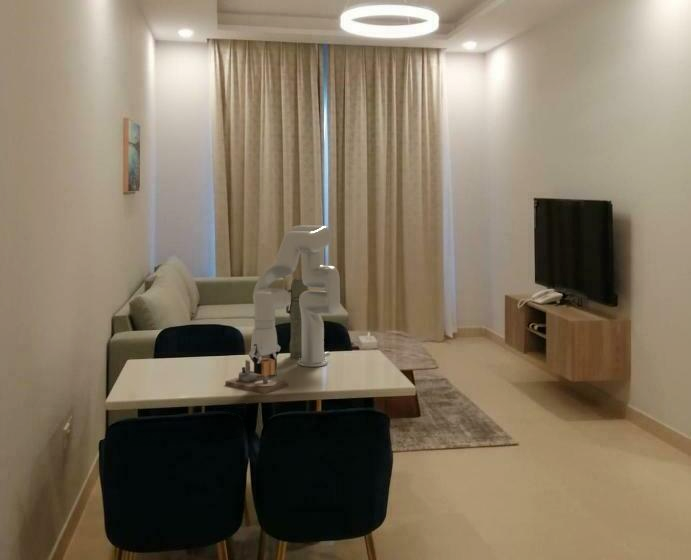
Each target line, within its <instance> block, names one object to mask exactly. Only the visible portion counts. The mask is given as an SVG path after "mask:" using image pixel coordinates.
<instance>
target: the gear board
mask: <svg viewBox="0 0 691 560" xmlns="http://www.w3.org/2000/svg"><path fill="white" fill-rule="evenodd" d="M244 361H245V366H242V367H241V372H238V377H235V378H232V379H228V380H225V383H224V384H225V386H229V387H233V388H236V389H237V388H238V389H241V390H246V391H250V392H255V393H259V394H268V393H271V392H274V391H277V390H280V389H283V388H286V387H287V388H288V387H289V381H285V380H279V379H274V378H269V376H268V375H267V376H264V375H263V376H257V374H255V373H254V370H253V371H252V370H251V359H245V360H244Z"/></svg>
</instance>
